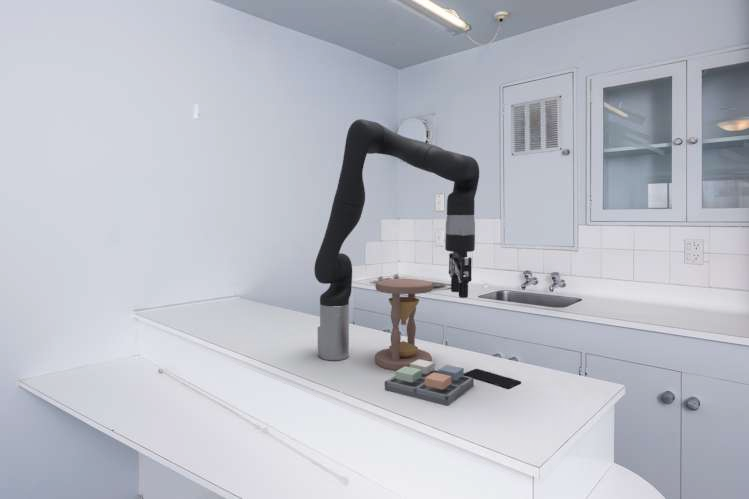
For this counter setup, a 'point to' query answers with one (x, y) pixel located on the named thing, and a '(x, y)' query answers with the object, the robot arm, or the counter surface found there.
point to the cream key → (423, 366)
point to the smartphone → (492, 378)
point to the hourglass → (402, 309)
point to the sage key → (408, 374)
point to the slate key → (452, 371)
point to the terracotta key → (438, 380)
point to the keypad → (430, 389)
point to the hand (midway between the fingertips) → (459, 294)
